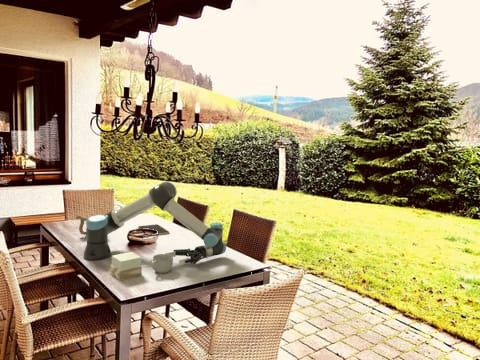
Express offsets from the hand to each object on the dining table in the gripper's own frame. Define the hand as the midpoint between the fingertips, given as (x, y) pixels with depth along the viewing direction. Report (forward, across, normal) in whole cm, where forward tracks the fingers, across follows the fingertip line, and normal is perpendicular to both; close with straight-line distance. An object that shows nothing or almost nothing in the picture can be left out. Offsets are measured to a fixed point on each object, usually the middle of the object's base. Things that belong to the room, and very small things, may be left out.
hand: (172, 259), depth 211 cm
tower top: (+23, +8, -1) cm, 24 cm away
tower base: (+23, +9, -6) cm, 25 cm away
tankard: (+10, +85, -6) cm, 86 cm away
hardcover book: (-32, +74, -7) cm, 82 cm away
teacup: (+7, +1, -6) cm, 9 cm away
